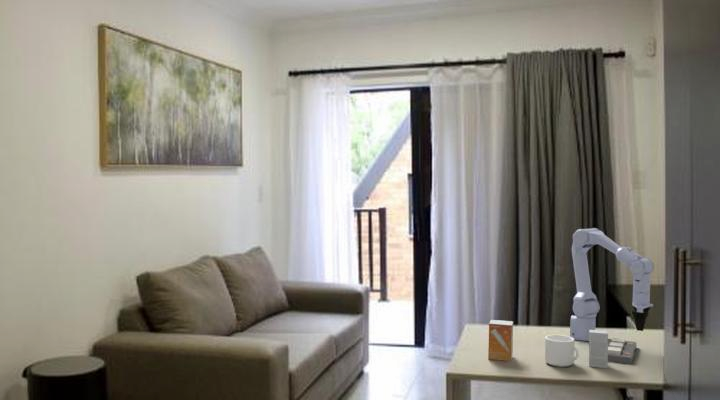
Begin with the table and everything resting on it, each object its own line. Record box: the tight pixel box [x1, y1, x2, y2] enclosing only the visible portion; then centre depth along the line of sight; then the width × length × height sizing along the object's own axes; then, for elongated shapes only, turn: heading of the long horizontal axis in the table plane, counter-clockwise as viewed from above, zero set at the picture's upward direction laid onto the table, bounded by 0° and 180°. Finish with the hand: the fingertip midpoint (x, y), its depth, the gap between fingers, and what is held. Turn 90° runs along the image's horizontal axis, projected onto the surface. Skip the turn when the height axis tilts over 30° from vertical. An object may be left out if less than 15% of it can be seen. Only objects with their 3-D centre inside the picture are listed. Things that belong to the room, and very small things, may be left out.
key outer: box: [608, 347, 622, 355], centre depth 228 cm, size 4×4×2 cm
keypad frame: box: [608, 338, 637, 365], centre depth 234 cm, size 12×23×2 cm, turn 153°
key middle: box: [609, 342, 623, 350], centre depth 234 cm, size 4×4×2 cm
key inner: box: [611, 337, 626, 345], centre depth 241 cm, size 4×4×2 cm
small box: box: [487, 319, 514, 362], centre depth 228 cm, size 8×6×13 cm
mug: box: [544, 334, 579, 368], centre depth 221 cm, size 12×10×9 cm
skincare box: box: [588, 329, 609, 369], centre depth 219 cm, size 6×4×12 cm
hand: (640, 328), depth 235 cm, fingers open, 7 cm apart
